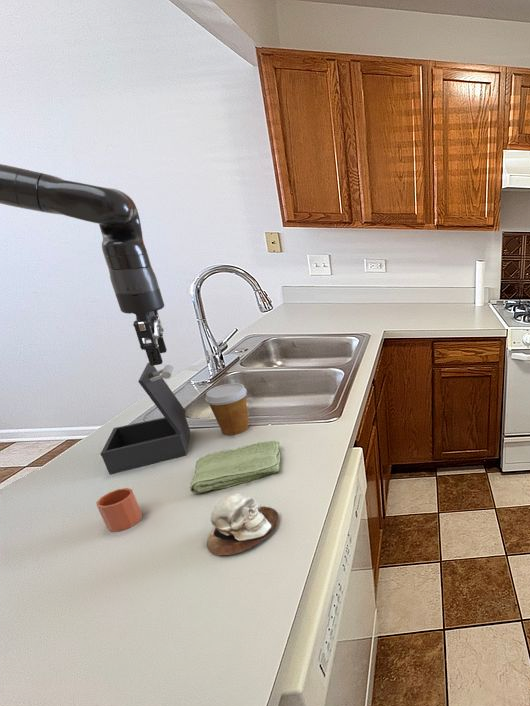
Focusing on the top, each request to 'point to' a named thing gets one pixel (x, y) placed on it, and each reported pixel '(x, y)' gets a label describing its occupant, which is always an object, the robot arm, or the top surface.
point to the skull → (239, 524)
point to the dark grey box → (144, 444)
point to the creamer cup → (119, 509)
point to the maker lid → (163, 395)
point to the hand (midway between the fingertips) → (159, 358)
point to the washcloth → (235, 466)
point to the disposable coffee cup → (229, 407)
